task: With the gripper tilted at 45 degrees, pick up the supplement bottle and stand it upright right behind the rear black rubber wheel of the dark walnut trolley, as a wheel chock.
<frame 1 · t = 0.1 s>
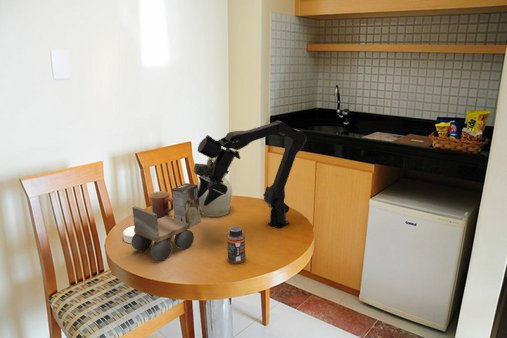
hand: (201, 201, 143), 15 cm above the table, tool tilted 35°, fingers open, 9 cm apart
coaster: (137, 238, 149), on the table
supplement bottle: (236, 260, 131), on the table
jug: (215, 212, 172), on the table
coffee box: (187, 224, 160), on the table
mug: (164, 218, 167), on the table
trolley: (164, 248, 139), on the table
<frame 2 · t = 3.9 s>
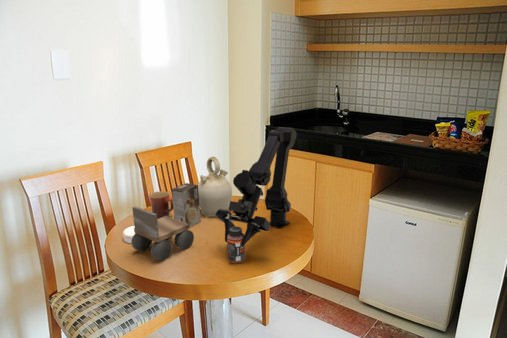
hand: (233, 243, 128), 7 cm above the table, tool tilted 45°, fingers closed on supplement bottle, 6 cm apart
supplement bottle: (236, 260, 131), on the table, touching gripper
everything else where it was.
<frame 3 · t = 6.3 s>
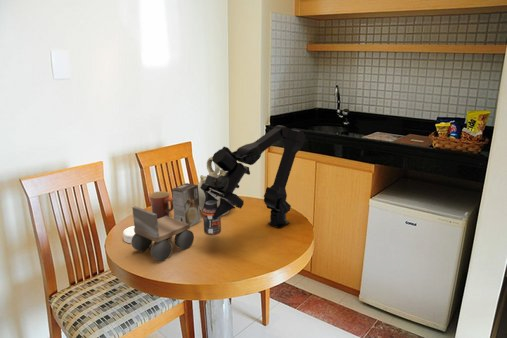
hand: (208, 216, 133), 13 cm above the table, tool tilted 45°, fingers closed on supplement bottle, 6 cm apart
supplement bottle: (212, 233, 136), point 6 cm above the table, touching gripper
everything else where it was.
when the fingers open (7 cm above the table, at t = 9.0 s): supplement bottle stays where it is, on the table.
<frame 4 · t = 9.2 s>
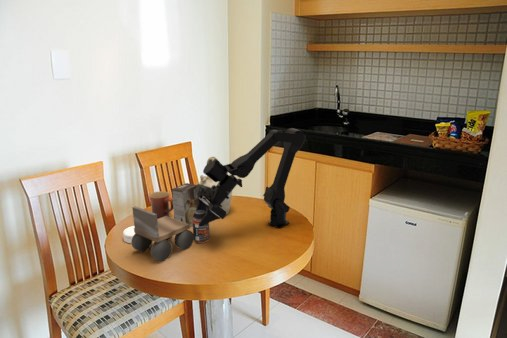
hand: (196, 222, 143), 8 cm above the table, tool tilted 45°, fingers open, 7 cm apart
supplement bottle: (201, 240, 145), on the table
everything else where it was.
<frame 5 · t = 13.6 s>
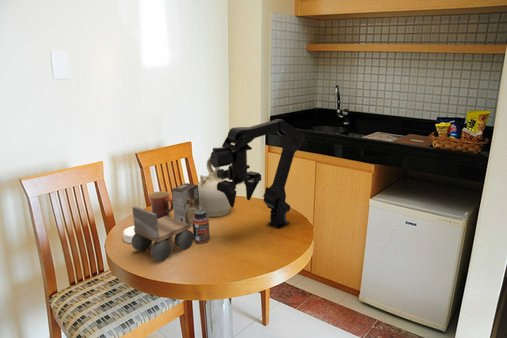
hand: (240, 203, 145), 13 cm above the table, tool pointing down, fingers open, 9 cm apart
nothing on the table moved.
at the end: supplement bottle 0.2 cm from the target spot on the table beside the trolley, on the table; supplement bottle tilted 0°; the gripper is holding nothing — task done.
